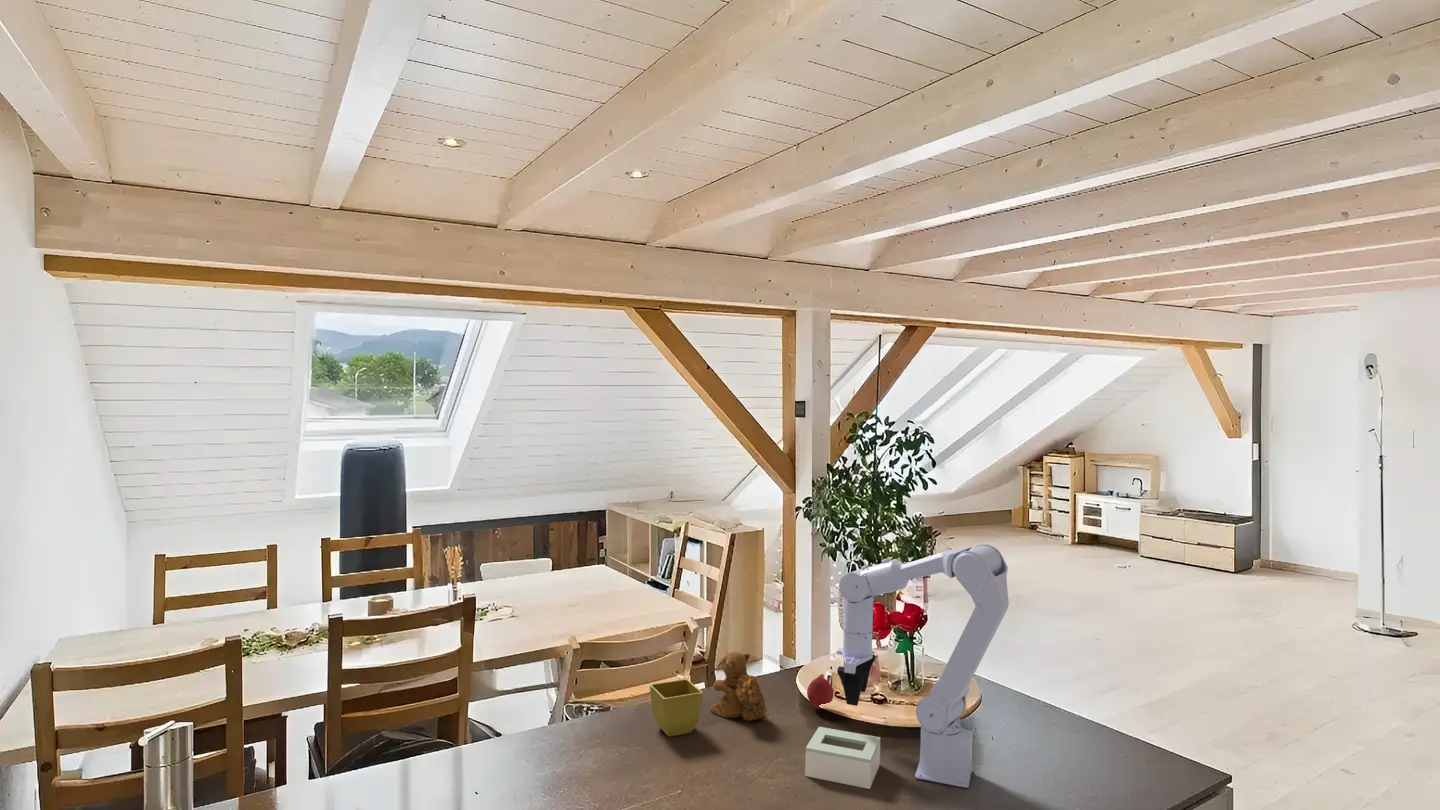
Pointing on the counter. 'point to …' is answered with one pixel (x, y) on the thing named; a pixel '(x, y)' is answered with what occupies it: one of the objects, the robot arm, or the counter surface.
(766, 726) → the counter surface
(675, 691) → the flower pot
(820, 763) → the box
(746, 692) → the stuffed squirrel
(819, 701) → the onion
